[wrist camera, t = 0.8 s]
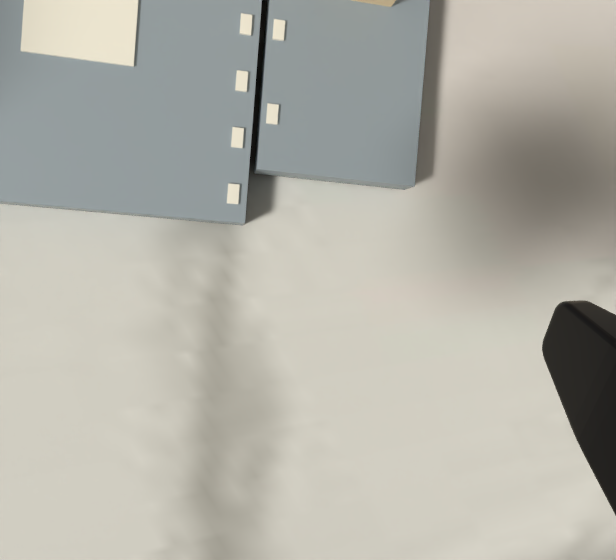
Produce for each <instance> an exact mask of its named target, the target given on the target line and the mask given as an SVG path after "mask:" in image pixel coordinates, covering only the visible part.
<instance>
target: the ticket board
mask: <svg viewBox="0 0 616 560" xmlns="http://www.w3.org/2000/svg"><path fill="white" fill-rule="evenodd" d="M261 6H262V0H0V203H2V204H13V205H24V206H35V207H46V208H57V209H68V210H79V211H90V212H101V213H112V214H123V215H134V216H145V217H156V218H167V219H178V220H189V221H200V222H211V223H223V224H234V225H244V224H245V217H246V203H247V190H248V177H249V164H250V151H251V138H252V124H253V111H254V98H255V85H256V72H257V59H258V45H259V32H260V19H261Z"/></svg>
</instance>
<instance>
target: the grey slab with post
mask: <svg viewBox="0 0 616 560" xmlns="http://www.w3.org/2000/svg"><path fill="white" fill-rule="evenodd" d="M429 5H430V0H267V10H266V23H265V36H264V49H263V62H262V75H261V88H260V102H259V115H258V128H257V141H256V154H255V167H254V173H255V174H264V175H273V176H283V177H292V178H301V179H310V180H320V181H329V182H338V183H347V184H357V185H366V186H375V187H385V188H394V189H403V190H405V189H408V188H411V187H414V186H415V176H416V164H417V151H418V139H419V127H420V115H421V103H422V90H423V78H424V66H425V54H426V42H427V29H428V17H429Z"/></svg>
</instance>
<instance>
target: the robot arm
mask: <svg viewBox="0 0 616 560" xmlns="http://www.w3.org/2000/svg"><path fill="white" fill-rule="evenodd" d="M542 351H543V356H544V359H545V362H546V364H547V367H548V369H549V372H550V374H551V377H552V379H553V382H554V385H555V387H556V390H557V392H558V395H559V397H560V400H561V402H562V405H563V407H564V410H565V412H566V415H567V417H568V420H569V422H570V425H571V427H572V430H573V432H574V434H575V437H576V439H577V441H578V443H579V445H580V447H581V449H582V451H583V454H584V456H585V457H586V459H587V461H588V463H589V465H590V467H591V469H592V471H593V473H594V475H595V477H596V479H597V480H598V482H599V484H600V486H601V488H602V490H603V492H604V494H605V496H606V498H607V500H608V502H609V503H610V505H611V507H612V509H613V511H614V513H615V515H616V315H615V314H613V313H611V312H609V311H607V310H605V309H603V308H601V307H599V306H597V305H595V304H593V303H591V302H588V301H564V302H562V303H560V304H559V305H558V306H557V307H556V308H555V311H554V313H553V316H552V318H551V321H550V324H549V326H548V329H547V332H546V334H545V337H544V340H543V345H542Z"/></svg>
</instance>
